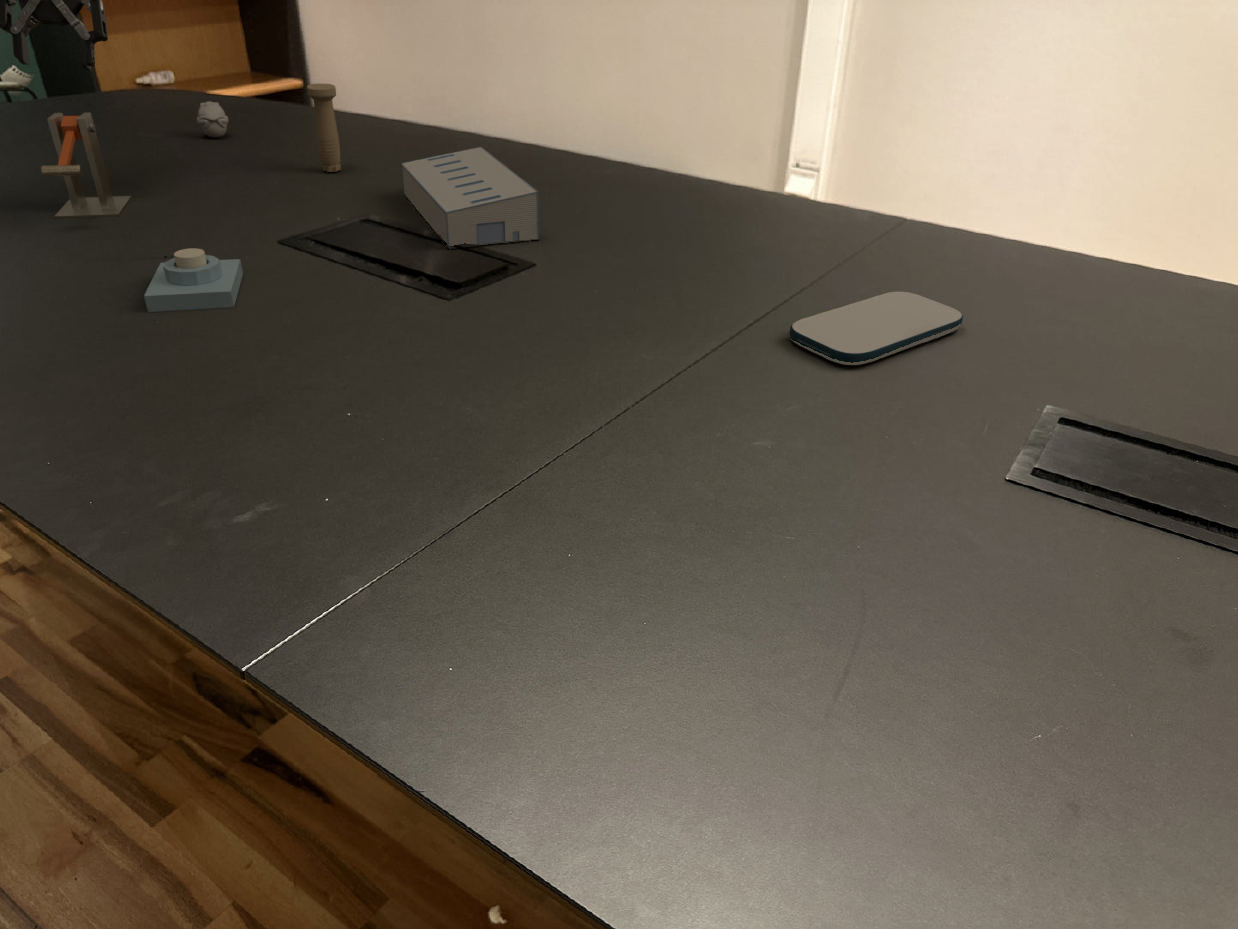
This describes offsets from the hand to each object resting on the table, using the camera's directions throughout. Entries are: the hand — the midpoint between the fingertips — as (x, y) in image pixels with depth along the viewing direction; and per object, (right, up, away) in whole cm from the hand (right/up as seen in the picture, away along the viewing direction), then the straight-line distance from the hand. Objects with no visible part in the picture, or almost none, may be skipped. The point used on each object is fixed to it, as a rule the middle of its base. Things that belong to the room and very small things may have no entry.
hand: (55, 66), depth 136 cm
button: (+30, -35, -21) cm, 51 cm away
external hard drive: (+118, -44, -22) cm, 128 cm away
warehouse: (+60, -19, +13) cm, 64 cm away
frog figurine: (0, +9, +54) cm, 55 cm away
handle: (+31, -5, +34) cm, 46 cm away
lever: (+3, -14, -1) cm, 14 cm away
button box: (+30, -38, -19) cm, 52 cm away
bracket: (+2, -20, +8) cm, 22 cm away
